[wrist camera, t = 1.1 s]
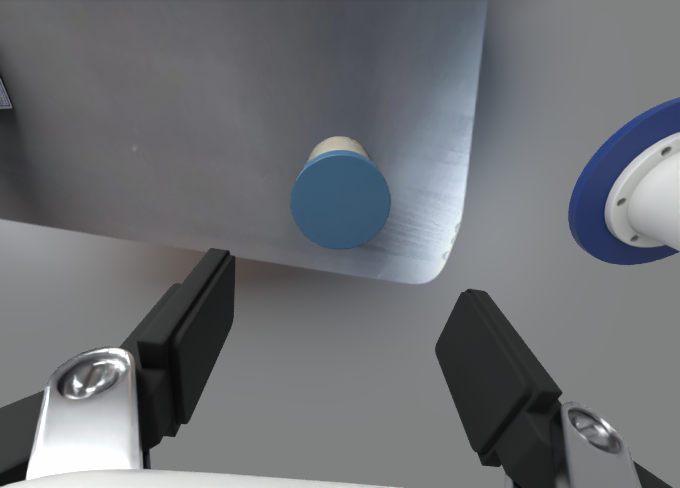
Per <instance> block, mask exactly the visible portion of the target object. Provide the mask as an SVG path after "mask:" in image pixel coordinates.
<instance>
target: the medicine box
mask: <svg viewBox="0 0 680 488" xmlns="http://www.w3.org/2000/svg"><path fill="white" fill-rule="evenodd" d="M11 108H12V105H11V103H10V100H9V98H8V95H7V93H6V91H5V88H4V86H3V83H2V81H1V78H0V109H11Z"/></svg>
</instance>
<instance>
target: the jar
mask: <svg viewBox="0 0 680 488" xmlns="http://www.w3.org/2000/svg"><path fill="white" fill-rule="evenodd" d="M333 150H347V151H353V152H356V153H359V154H361V155H363V156H365V157H366V158H368V159H369V160H370V161H371V159H370V157H369V155H368V154H367V152H366V150H365V149H364V148H363V147H362V146H361V145H360V144H359V143H358V142H356V141H355V140H353V139H350V138H347V137H339V136H338V137H331V138H328V139H326V140H324V141H322V142H321V143H319V144H318V145H317V146H316V147H315V148H314V149H313V151H312V152H311V154H310V156H309V159H308V161H307V163H308V162H309V161H311V160H312V159H313V158H315V157H316V156H318V155H320V154H323V153H325V152H329V151H333ZM371 162H372V161H371Z"/></svg>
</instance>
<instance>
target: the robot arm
mask: <svg viewBox="0 0 680 488" xmlns="http://www.w3.org/2000/svg"><path fill="white" fill-rule="evenodd" d="M604 214H605V222H606V225H607V227H608V230H609V231H610V232H611V234H612V235H613V236H614V237H616V238H617V239H619V240H620V241H622V242H624V243H626V244H628V245H631V246H636V247H648V248H650V247H657V246H663V245H667V246H669V247H672V248H674V249H676V250H678V251H680V132H678V133H675V134H672V135H670V136H668V137H666V138H664V139H662V140H660V141H658V142H657V143H655V144H654V145H652V146H650V147H649V148H647V149H646V150H645V151H643V152H642V153H641V154H640V155H639V156H637V157H636V158H635V159H634V160H633V161H632V162H631V163H630V164H629V165H628V166H627V167H626V168H625V169H624V170H623V172H622V173H621V174H620V176H619V177H618V178H617V180H616V181H615V183H614V185H613V187H612V189H611V191H610V192H609V195H608V198H607V201H606V205H605V213H604ZM234 288H235V256H232V255H230V252H229V251H228V250H221V249H215V248H211V249H209V251H208V252H207V253H206V255H205V256H204V257H203V258H202V259H201V261H200V262H199V263H198V264H197V266H196V267H195V268H194V269H193V271H192V272H191V273H190V274H189V276H188V277H187V278H186V279H185V280H184V282H183V283H182V284H180V283H176V284H173V285H172V286H171V287H170V288H169V290H168V291H167V292H166V293H165V294H164V295H163V297H162V298H161V299H160V300H159V302H158V303H157V304H156V305H155V306H154V307H153V308H152V310H151V311H150V312H149V313H148V314H147V315H146V317H145V318H144V319H143V320H142V321H141V323H140V324H139V325H138V326H137V327H136V328H135V330H134V331H133V332H132V333H131V334H130V336H129V337H128V338H127V339H126V340H125V341H124V342H123V344H122V345H121V346H120V347H103V348H95V349H92V350H89V351H86V352H83V353H81V354H79V355H77V356H75V357H73V358H71V359H69V360H68V361H67V362H65V363H64V364H62V365H61V366H60V367H58V369H57V370H56V371H55V372H54V373H53V374H52V375H51V377H50V378H49V380H48V383H47V385H46V387H45V390H44V391H41V392H39V393H37V394H34V395H31V396H29V397H27V398H24V399H21V400H19V401H17V402H14V403H12V404H9V405H7V406H4V407H2V408H0V488H400V487H389V486H377V485H365V484H352V483H340V482H325V481H314V480H301V479H288V478H274V477H261V476H247V475H234V474H221V473H220V474H219V473H204V472H186V471H168V470H153V468H152V456H151V448H153V447H154V446H156V445H157V444H159V443H160V442H161V440H162V438H163V436H169V437H175V436H176V434H177V432H178V429H179V427H180V425H181V424H187V423H188V422H189V420H190V418H191V416H192V414H193V412H194V410H195V407H196V405H197V403H198V401H199V398H200V396H201V394H202V392H203V389H204V387H205V385H206V383H207V380H208V378H209V376H210V374H211V371H212V369H213V367H214V365H215V362H216V360H217V357H218V356H219V353H220V351H221V349H222V347H223V345H224V342H225V340H226V338H227V335H228V333H229V331H230V329H231V326H232V323H233V317H234ZM435 352H436V356H437V358H438V361H439V364H440V366H441V369H442V372H443V374H444V377H445V379H446V382H447V385H448V387H449V390H450V392H451V395H452V398H453V400H454V403H455V405H456V408H457V411H458V413H459V416H460V419H461V421H462V424H463V426H464V429H465V432H466V434H467V437H468V440H469V442H470V445H471V447H472V449H473V450H474V451H475V452H477V453H478V456H479V458H480V461H481V464H482V465H483V466H494V467H500V466H501V464H502V466H503V468H504V470H505V488H672V487H671V486H669V485H668V484H666V483H665V482H663V481H662V480H661V479H659V478H657V477H656V476H655V475H653V474H652V473H650V472H649V471H647V470H646V469H644V468H643V467H641V466H640V465H639V464H637V463H635V462H634V461H633V460H632V457H631V454H630V451H629V448H628V446H627V444H626V442H625V440H624V438H623V437H622V436H621V435H620V433H619V432H618V430H616V428H614V426H613V425H612V424H610V422H608V421H607V420H606V419H605V418H603V417H602V416H601V415H600V414H598V413H597V412H595V411H594V410H592V409H590V408H589V407H587V406H584V405H582V404H579V403H574V402H566V403H564V404H563V405H562V404H561V403H560V402H559V400H558V398H559V397H560V396H561V394H562V391H561V390H560V389H559V387H558V386H557V385H556V383H555V382H554V381H553V379H552V378H551V377H550V375H549V374H548V373H547V372H546V370H545V369H544V367H543V366H542V365H541V363H540V362H539V361H538V360H537V358H536V357H535V356H534V354H533V353H532V352H531V350H530V349H529V348H528V346H527V345H526V344H525V343H524V341H523V340H522V338H521V337H520V336H519V334H518V333H517V332H516V330H515V329H514V328H513V326H512V325H511V324H510V322H509V321H508V320H507V319H506V317H505V316H504V315H503V313H502V312H501V311H500V309H499V308H498V307H497V305H496V304H495V303H494V301H493V300H492V299H491V297H490V296H489V295H488V293H486V292H485V291H481V290H474V289H467V290H466V291H465V292H462V293H461V294H460V296H459V298H458V300H457V302H456V304H455V306H454V309H453V310H452V312H451V315H450V317H449V319H448V321H447V323H446V325H445V327H444V329H443V331H442V333H441V335H440V337H439V340H438V342H437V344H436V347H435Z"/></svg>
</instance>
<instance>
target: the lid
mask: <svg viewBox="0 0 680 488" xmlns="http://www.w3.org/2000/svg"><path fill="white" fill-rule="evenodd" d="M291 210H292V215H293V218H294V220H295V222H296V224H297V226H298V227H299V229H300V230H301V231H302V233H303V234H304V235H305V236H306V237H307V238H309V239H310V240H311V241H313V242H315V243H316V244H318V245H321V246H323V247H327V248H331V249H350V248H354V247H357V246H360V245H362V244H364V243H366V242H368V241H369V240H371V239H372V238H373V237H375V236H376V235H377V234H378V233H379V231H380V230H381V229H382V227H383V226H384V224H385V222H386V220H387V218H388V215H389V211H390V192H389V189H388V185H387V183H386V181H385V179H384V177H383V176H382V174H381V172H380V171H379V169H378V168H377V167H376V165H375V164H374V163H373V162H371V161H370V160H369V159H368V158H366V157H365V156H363V155H361V154H359V153H356V152H353V151H347V150H333V151H329V152H325V153H323V154H320V155H318V156H316V157H315V158H313V159H312V160H311V161H309V162H308V163H307V164H306V165H305V166H304V168H303V169H302V170H301V172H300V174H299V175H298V177H297V180H296V182H295V184H294V187H293V190H292V194H291Z"/></svg>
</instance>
